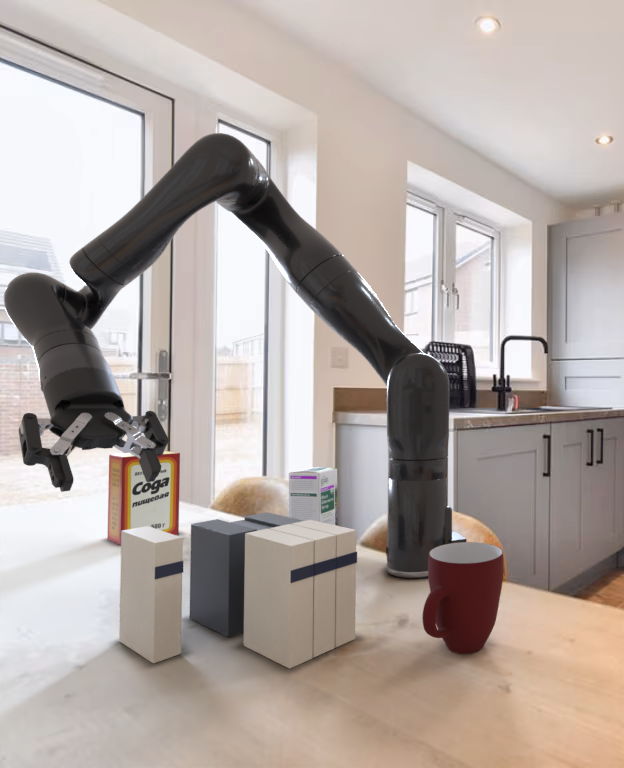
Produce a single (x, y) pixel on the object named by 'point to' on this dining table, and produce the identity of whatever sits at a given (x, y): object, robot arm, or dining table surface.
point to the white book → (151, 592)
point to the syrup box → (314, 495)
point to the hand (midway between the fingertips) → (113, 482)
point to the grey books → (223, 570)
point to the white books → (299, 590)
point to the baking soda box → (142, 495)
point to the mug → (463, 594)
